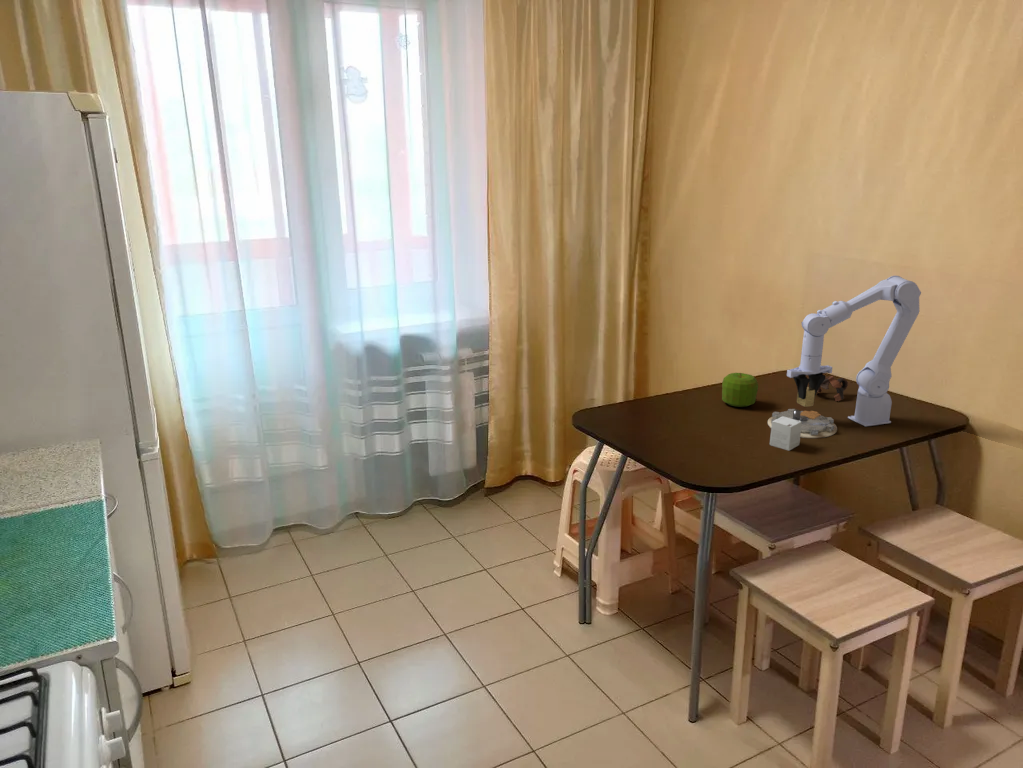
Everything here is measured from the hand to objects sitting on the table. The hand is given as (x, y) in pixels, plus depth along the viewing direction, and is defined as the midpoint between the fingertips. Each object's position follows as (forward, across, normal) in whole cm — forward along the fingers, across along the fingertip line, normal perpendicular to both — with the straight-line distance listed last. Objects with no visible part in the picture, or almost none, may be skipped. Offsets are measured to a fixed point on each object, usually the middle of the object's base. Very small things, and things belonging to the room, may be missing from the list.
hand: (806, 397), depth 226 cm
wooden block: (+2, 0, 0) cm, 2 cm away
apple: (+8, +10, -20) cm, 24 cm away
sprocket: (+8, +3, +3) cm, 9 cm away
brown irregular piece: (+8, -23, -16) cm, 29 cm away
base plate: (+8, +3, +3) cm, 9 cm away
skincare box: (+8, +17, +14) cm, 24 cm away
